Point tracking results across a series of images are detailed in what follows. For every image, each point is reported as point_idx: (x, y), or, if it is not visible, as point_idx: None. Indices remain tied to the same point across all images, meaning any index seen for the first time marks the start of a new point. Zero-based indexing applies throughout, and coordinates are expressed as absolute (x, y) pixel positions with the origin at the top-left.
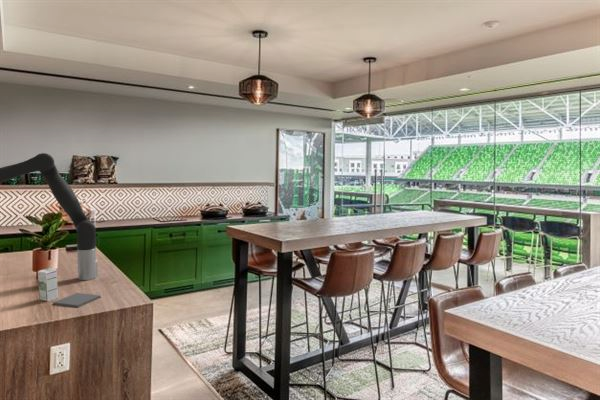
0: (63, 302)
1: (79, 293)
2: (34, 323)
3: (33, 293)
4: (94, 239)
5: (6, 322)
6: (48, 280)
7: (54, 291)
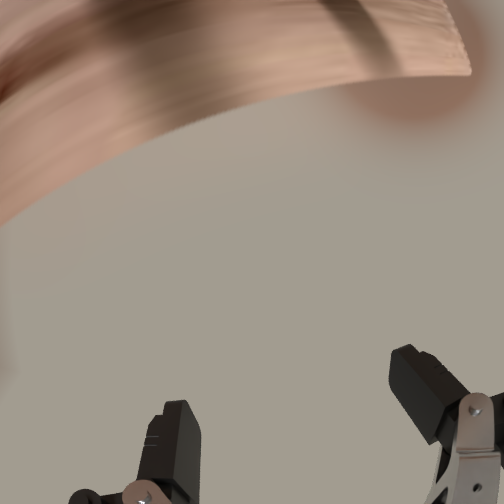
0: None
1: None
2: (456, 32)
3: (238, 17)
4: None
5: (454, 73)
6: None
7: None
